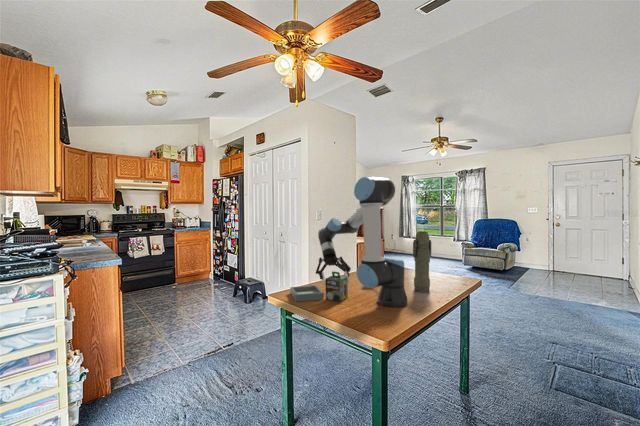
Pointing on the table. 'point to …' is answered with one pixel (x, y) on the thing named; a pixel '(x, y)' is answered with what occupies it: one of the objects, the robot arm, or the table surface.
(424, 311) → the table surface
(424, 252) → the green stone statue
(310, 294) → the tray
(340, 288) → the chalk box
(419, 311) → the table surface
